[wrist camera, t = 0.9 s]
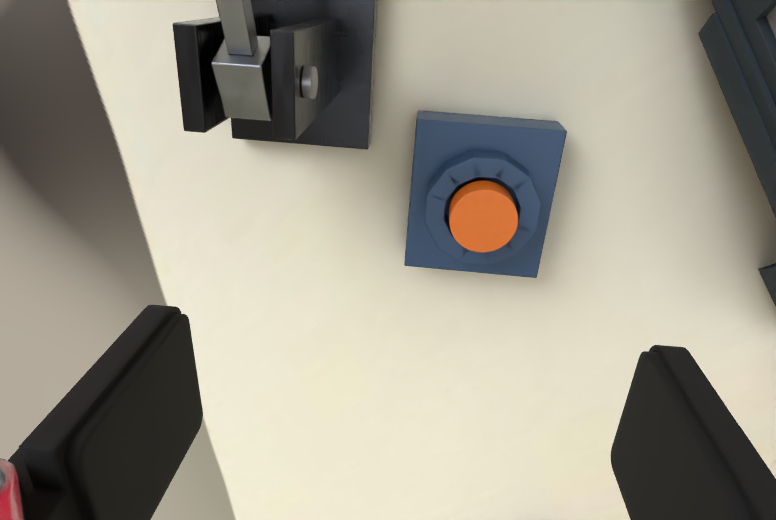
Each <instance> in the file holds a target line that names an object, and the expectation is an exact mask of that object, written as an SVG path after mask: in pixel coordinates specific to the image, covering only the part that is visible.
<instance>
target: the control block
mask: <svg viewBox="0 0 776 520" xmlns="http://www.w3.org/2000/svg"><path fill="white" fill-rule="evenodd" d="M566 133H567V131H566V130H565V129H564V128H563V127H562V126H561V124H560V123H559V122H557V121H545V120H533V119H520V118H507V117H495V116H482V115H469V114H457V113H444V112H431V111H418V114H417V120H416V132H415V144H414V156H413V168H412V180H411V192H410V204H409V216H408V228H407V240H406V252H405V264H404V265H405V266H414V267H425V268H436V269H446V270H457V271H468V272H479V273H490V274H500V275H511V276H522V277H533V278H536V277H537V273H538V268H539V263H540V258H541V253H542V249H543V244H544V239H545V234H546V229H547V225H548V220H549V215H550V210H551V205H552V200H553V196H554V191H555V186H556V181H557V176H558V172H559V167H560V162H561V157H562V152H563V147H564V143H565V138H566ZM481 180H486V181H492V182H495V183H497V184H499V185H501V186H503V187H504V188H505V189H506V190H507V191H508V192H509V193H510V195H511V197H512V199H513V201H514V204H515V207H516V210H517V214H518V226H517V229H516V232H515V234H514V235H513V237H512V238H511V240H510V241H509V242H508V243H507V244H505V245H504V246H502V247H501V248H499V249H497V250H494V251H490V252H475V251H471V250H468V249H466V248H464V247H463V246H461V245H460V244H459V243H458V242H457V241H456V240H455V238H454V237H453V235H452V233H451V229H450V223H449V207H450V203H451V200H452V198H453V197H454V195H455V194H456V193H457V191H458V190H460V189H461V188H462V187H463V186H465V185H467V184H469V183H471V182H475V181H481Z"/></svg>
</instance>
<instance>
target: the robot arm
mask: <svg viewBox="0 0 776 520" xmlns="http://www.w3.org/2000/svg"><path fill="white" fill-rule="evenodd" d="M202 416H203V411H202V404H201V397H200V391H199V384H198V377H197V371H196V364H195V357H194V351H193V344H192V337H191V331H190V324H189V319H188V317H187V315H185V314H181V311H180V309H179V308H177V307H173V306H160V305H148V306H147V307H146V308H145V309H144V310H143V311H142V312H141V313H140V314H139V316H138V317H137V318H136V319H135V320H134V321H133V322H132V323H131V324H130V326H128V328H127V329H126V330H125V331H124V332H123V333H122V334H121V335H120V336H119V337H118V339H117V340H116V341H115V342H114V343H113V344H112V345H111V346H110V347H109V349H108V350H107V351H106V352H105V353H104V354H103V355H102V356H101V357H100V358H99V359H98V361H97V362H96V363H95V364H94V365H93V366H92V367H91V368H90V369H89V370H88V371H87V373H86V374H85V375H84V376H83V377H82V378H81V379H80V380H79V381H78V383H76V385H75V386H74V387H73V388H72V389H71V390H70V391H69V392H68V393H67V394H66V396H65V397H64V398H63V399H62V400H61V401H60V402H59V403H58V404H57V405H56V407H55V408H54V409H53V410H52V411H51V412H50V413H49V414H48V415H47V416H46V418H45V419H44V420H43V421H42V422H41V423H40V424H39V425H38V426H37V427H36V428H35V430H34V431H33V432H32V433H31V434H30V435H29V436H28V437H27V438H26V439H25V441H24V442H23V443H22V444H21V445H20V446H19V449H18V450H17V451H16V452H15V453H14V454H13V455H12V456H11V457H10V459H9V460H8V461H7V460H5V459H0V520H150V519H151V518H152V516H153V514H154V512H155V510H156V508H157V506H158V505H159V503H160V501H161V499H162V497H163V495H164V493H165V491H166V490H167V488H168V486H169V484H170V482H171V481H172V479H173V477H174V475H175V473H176V471H177V470H178V468H179V466H180V464H181V462H182V460H183V458H184V457H185V454H186V453H187V451H188V449H189V447H190V446H191V444H192V442H193V440H194V438H195V436H196V434H197V433H198V431H199V429H200V426H201V422H202ZM611 464H612V468H613V471H614V474H615V477H616V480H617V483H618V485H619V488H620V491H621V494H622V497H623V499H624V502H625V505H626V508H627V511H628V513H629V516H630V519H631V520H776V479H775V477H774V476H773V474H772V473H771V471H770V470H769V468H768V467H767V465H766V464H765V463H764V461H763V460H762V458H761V457H760V455H759V454H758V452H757V451H756V449H755V448H754V446H753V445H752V443H751V442H750V440H749V439H748V437H747V436H746V435H745V433H744V432H743V430H742V429H741V427H740V426H739V425H738V423H737V422H736V420H735V419H734V418H733V416H732V415H731V413H730V412H729V410H728V409H727V407H726V406H725V404H724V403H723V401H722V400H721V398H720V397H719V395H718V394H717V392H716V391H715V389H714V388H713V387H712V385H711V384H710V382H709V381H708V379H707V378H706V376H705V375H704V373H703V372H702V370H701V369H700V367H699V366H698V364H697V363H696V361H695V360H694V358H693V357H692V356H691V354H690V353H689V351H688V350H687V349H686V348H683V347H673V346H661V345H654V346H652V347H651V348H650V350H649V352H645V351H644V352H642V353H641V355H640V357H639V360H638V363H637V367H636V370H635V373H634V377H633V380H632V383H631V387H630V390H629V393H628V396H627V400H626V403H625V406H624V410H623V413H622V416H621V419H620V423H619V426H618V429H617V433H616V436H615V439H614V442H613V446H612V450H611Z"/></svg>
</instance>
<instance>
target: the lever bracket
mask: <svg viewBox="0 0 776 520" xmlns="http://www.w3.org/2000/svg"><path fill="white" fill-rule="evenodd" d="M251 5H252V11H253V16H254V22H255V28H256V33H257V36H266V37H270V56H271V86H272V116H273V117H272V120H270V121H267V120H255V119H243V118H231V126H232V138H236V139H248V140H261V141H273V142H285V143H297V144H309V145H321V146H333V147H345V148H357V149H368V148H369V146H370V139H371V117H372V96H373V75H374V53H375V32H376V11H377V0H251ZM173 31H174V41H175V50H176V60H177V69H178V78H179V88H180V97H181V107H182V116H183V126H184V131H191V132H203V133H205V132H207V131H209V130H210V129H212V128H213V127H215V126H217V125H218V124H220V123H222V122H223V121H225V120H227V119H228V118H230V117H225V115H224V112H223V108H222V104H221V100H220V96H219V92H218V88H217V85H216V81H215V77H214V73H213V69H212V65H211V62H212V60H213V58H214V56H215V54H216V53H217V51H218V49H219V47H220V45H221V43H222V42H223V40H224V34H223V30H222V25H221V21H220V17H217V18H209V19H201V20H193V21H185V22H178V23H173Z"/></svg>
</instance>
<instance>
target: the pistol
mask: <svg viewBox="0 0 776 520" xmlns="http://www.w3.org/2000/svg"><path fill="white" fill-rule="evenodd" d="M711 1H712V3H713V5H714V8H715V10H716V13H714V14H712V16H711V17H710V18H709V20H708V21H707V22H706V24H705V25H704V27H703V28H702V29H701V31H700V32H699V37H700V39H701V41H702V44H703V46H704V49H705V51H706V53H707V56H708V58H709V60H710V63H711V65H712V68H713V70H714V72H715V75H716V77H717V79H718V82H719V84H720V87H721V89H722V91H723V94H724V96H725V98H726V101H727V103H728V106H729V108H730V110H731V113H732V115H733V117H734V120H735V122H736V125H737V127H738V129H739V132H740V134H741V136H742V139H743V141H744V144H745V146H746V148H747V151H748V153H749V155H750V158H751V160H752V163H753V165H754V167H755V170H756V172H757V174H758V177H759V179H760V181H761V184H762V186H763V189H764V191H765V193H766V196H767V198H768V200H769V203H770V205H771V208H772V210H773V212H774V215H775V217H776V0H711ZM758 270H759V272H760V274H761V276H762V278H763V280H764V282H765V285H766V287H767V289H768V291H769V293H770V295H771V297H772V300H773V302H774V304H775V306H776V263H775V264H772V265H769V266H766V267H763V268H759V269H758Z"/></svg>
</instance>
